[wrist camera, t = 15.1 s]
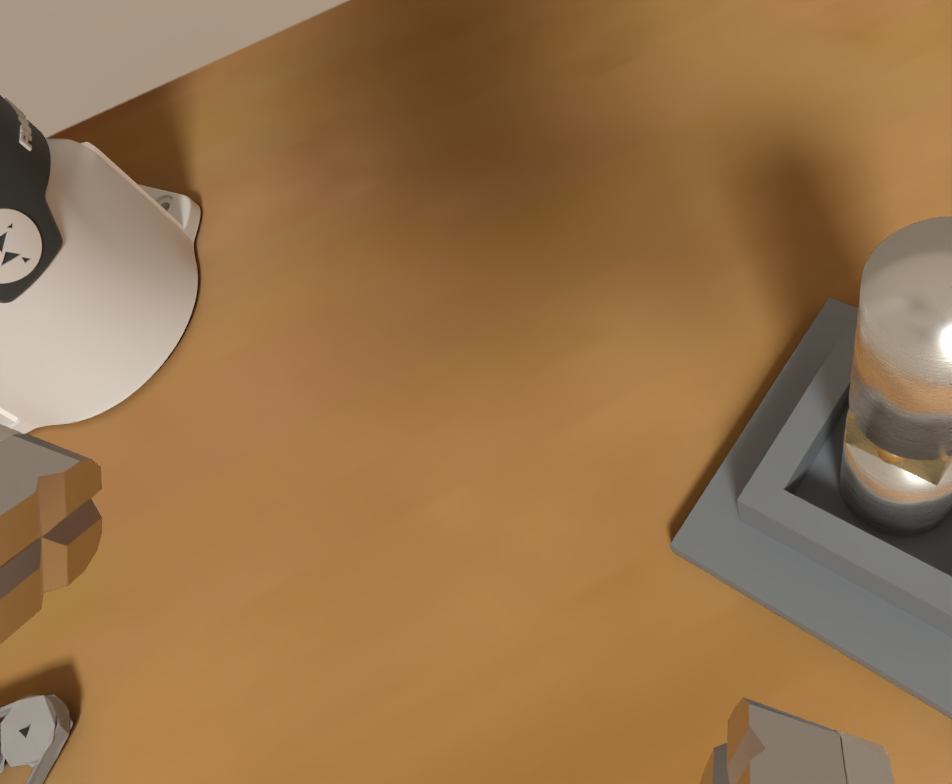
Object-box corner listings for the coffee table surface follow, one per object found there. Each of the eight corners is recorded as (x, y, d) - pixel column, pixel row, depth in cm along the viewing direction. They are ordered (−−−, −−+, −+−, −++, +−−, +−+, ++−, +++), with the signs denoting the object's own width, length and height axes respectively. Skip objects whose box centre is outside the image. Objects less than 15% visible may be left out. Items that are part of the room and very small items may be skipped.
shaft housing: (672, 551, 35) (662, 526, 32) (839, 291, 37) (844, 245, 34) (1025, 763, 28) (1054, 755, 25) (1196, 427, 31) (1240, 385, 28)
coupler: (819, 501, 33) (830, 315, 21) (871, 420, 33) (908, 196, 22) (924, 556, 31) (1000, 382, 19) (976, 468, 31) (1079, 249, 20)
